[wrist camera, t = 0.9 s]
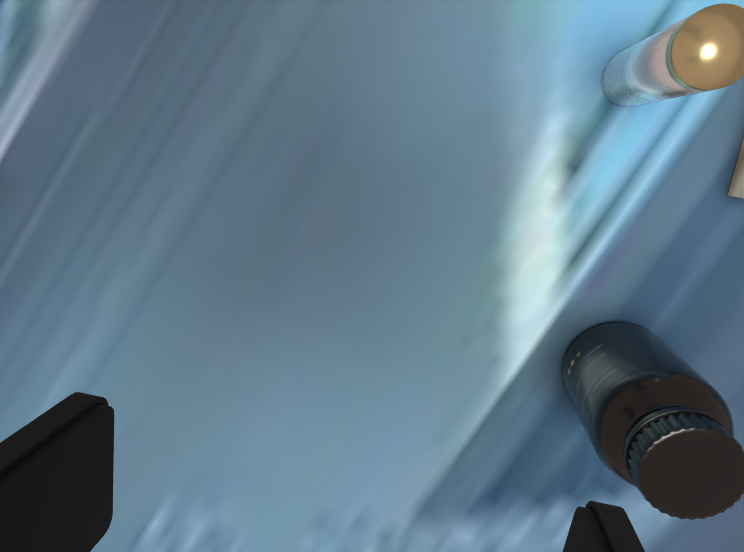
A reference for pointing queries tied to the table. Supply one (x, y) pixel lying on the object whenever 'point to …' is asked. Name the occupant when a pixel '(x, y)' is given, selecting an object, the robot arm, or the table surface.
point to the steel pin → (680, 59)
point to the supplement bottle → (655, 421)
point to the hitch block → (738, 177)
